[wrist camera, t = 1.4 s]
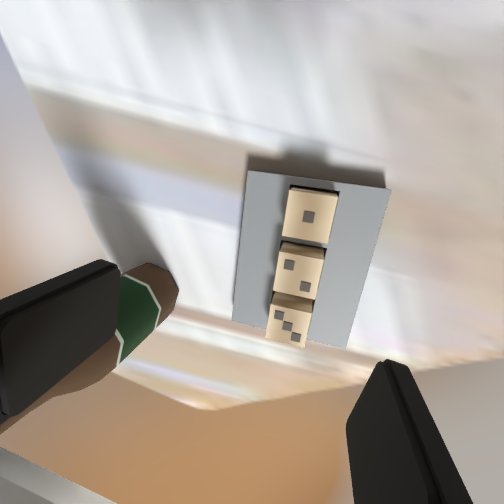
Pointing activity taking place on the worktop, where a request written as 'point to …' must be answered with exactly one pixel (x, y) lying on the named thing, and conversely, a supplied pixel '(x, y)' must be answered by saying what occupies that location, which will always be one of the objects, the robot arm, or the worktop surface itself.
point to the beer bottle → (120, 330)
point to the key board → (336, 251)
